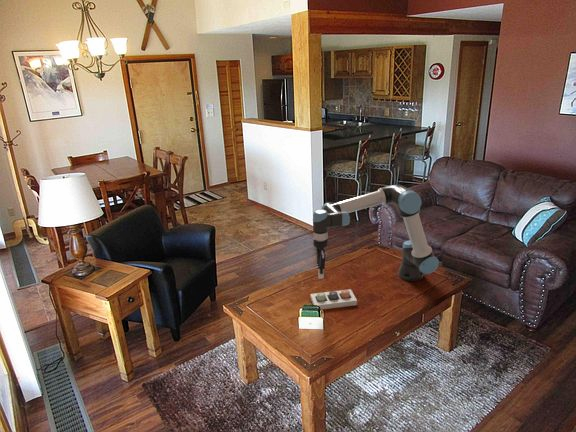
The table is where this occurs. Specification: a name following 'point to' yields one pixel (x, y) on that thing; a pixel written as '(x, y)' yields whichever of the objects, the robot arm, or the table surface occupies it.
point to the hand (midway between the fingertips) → (320, 277)
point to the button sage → (321, 297)
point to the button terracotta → (345, 294)
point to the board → (334, 303)
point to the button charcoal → (333, 295)
